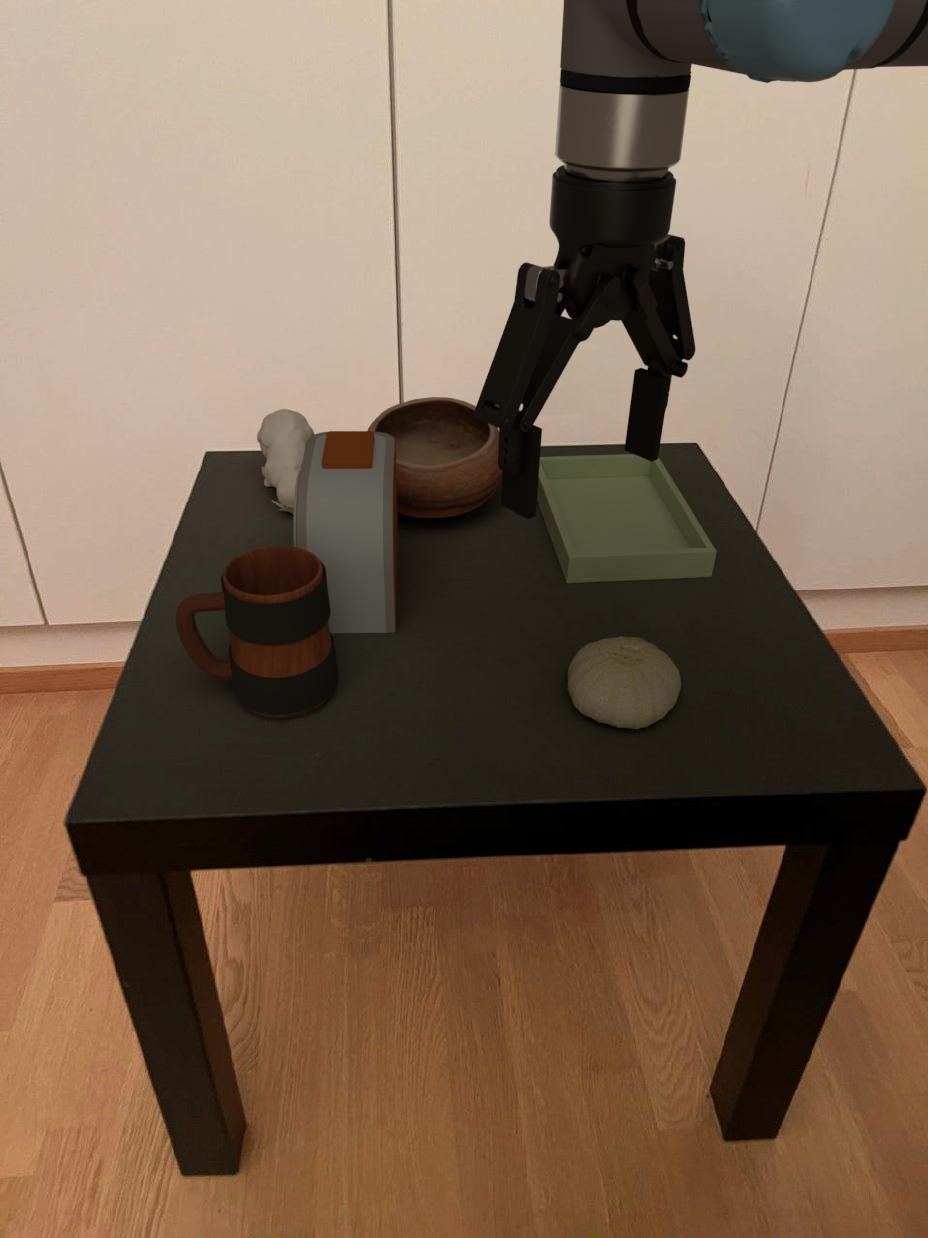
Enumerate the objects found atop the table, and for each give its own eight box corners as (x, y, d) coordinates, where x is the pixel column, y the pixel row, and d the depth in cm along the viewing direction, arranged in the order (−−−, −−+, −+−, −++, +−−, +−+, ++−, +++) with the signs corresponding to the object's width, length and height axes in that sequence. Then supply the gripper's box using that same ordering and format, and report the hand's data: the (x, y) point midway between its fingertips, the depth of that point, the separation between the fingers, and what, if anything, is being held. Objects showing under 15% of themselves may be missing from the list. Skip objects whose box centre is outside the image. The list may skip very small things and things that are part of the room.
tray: (711, 577, 94) (717, 551, 92) (566, 583, 92) (569, 557, 90) (652, 476, 111) (656, 452, 109) (530, 480, 110) (531, 456, 108)
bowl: (346, 531, 99) (341, 444, 94) (380, 465, 112) (377, 384, 106) (494, 546, 98) (498, 458, 92) (512, 477, 110) (516, 395, 104)
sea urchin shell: (712, 687, 77) (672, 656, 71) (652, 764, 77) (607, 739, 71) (634, 631, 83) (592, 597, 77) (579, 702, 83) (533, 675, 77)
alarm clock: (315, 546, 97) (304, 423, 89) (398, 546, 97) (395, 423, 89) (300, 633, 85) (287, 499, 77) (396, 632, 85) (392, 499, 77)
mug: (190, 669, 80) (168, 551, 74) (331, 650, 83) (322, 535, 76) (191, 737, 74) (167, 615, 67) (345, 714, 76) (337, 594, 69)
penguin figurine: (310, 400, 105) (323, 456, 96) (315, 466, 111) (328, 525, 102) (252, 404, 104) (260, 461, 95) (260, 470, 110) (268, 531, 101)
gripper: (688, 137, 67) (648, 419, 79) (418, 182, 53) (421, 516, 65) (782, 153, 62) (724, 449, 75) (514, 207, 48) (497, 560, 61)
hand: (582, 481), depth 70 cm, fingers open, 13 cm apart
